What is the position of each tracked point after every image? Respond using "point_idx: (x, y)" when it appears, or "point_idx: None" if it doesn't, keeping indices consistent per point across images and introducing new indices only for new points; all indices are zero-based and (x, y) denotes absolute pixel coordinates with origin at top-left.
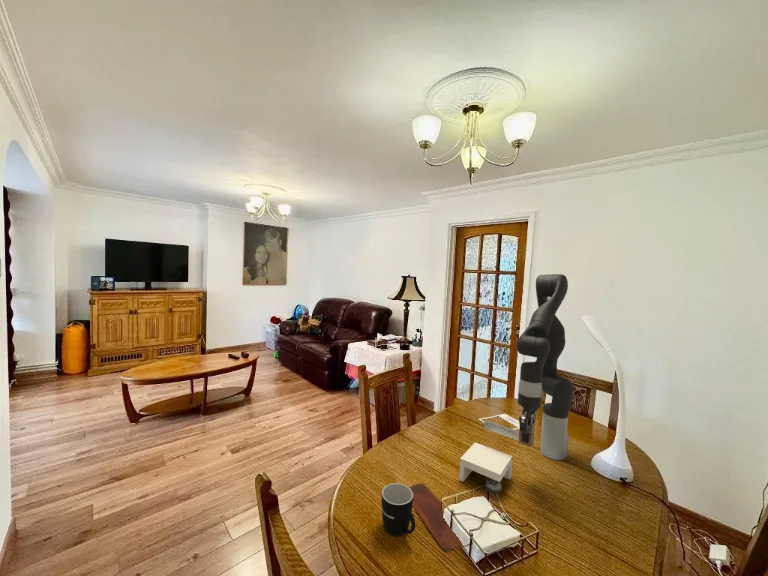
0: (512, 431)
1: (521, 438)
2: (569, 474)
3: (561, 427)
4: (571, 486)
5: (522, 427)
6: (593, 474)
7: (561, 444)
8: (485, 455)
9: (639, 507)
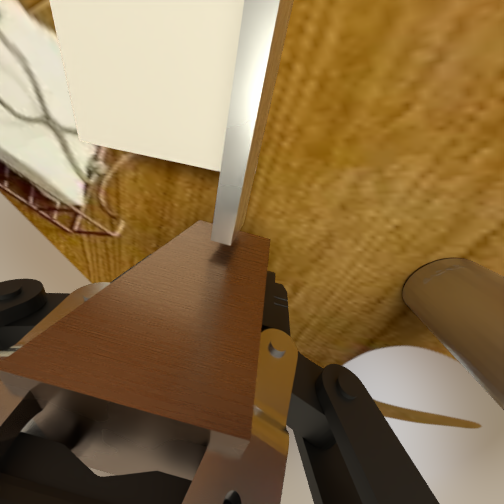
0: (224, 176)
1: None
2: (337, 307)
3: None
4: (288, 303)
5: (50, 323)
6: (356, 346)
7: (440, 339)
8: (166, 23)
9: None
